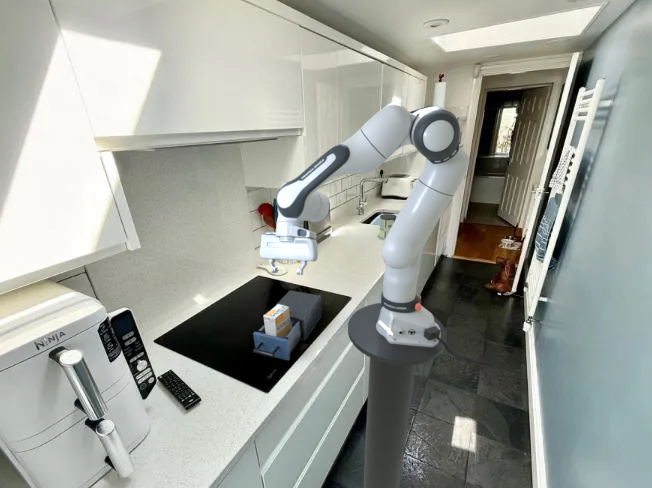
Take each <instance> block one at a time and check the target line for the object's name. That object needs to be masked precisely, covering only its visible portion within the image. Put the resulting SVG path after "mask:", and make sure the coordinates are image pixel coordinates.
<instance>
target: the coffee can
mask: <svg viewBox="0 0 652 488" xmlns="http://www.w3.org/2000/svg"><path fill="white" fill-rule="evenodd" d="M396 218H397V215H396V214H393V213H384V214H380V215H379V233H378V234H379V235H378V237H379V239H382V240H385V238H386V236H387V234H388V232H389V231H390V229H391V227H392V225H393V223H394V222H395V220H396Z"/></svg>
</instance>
